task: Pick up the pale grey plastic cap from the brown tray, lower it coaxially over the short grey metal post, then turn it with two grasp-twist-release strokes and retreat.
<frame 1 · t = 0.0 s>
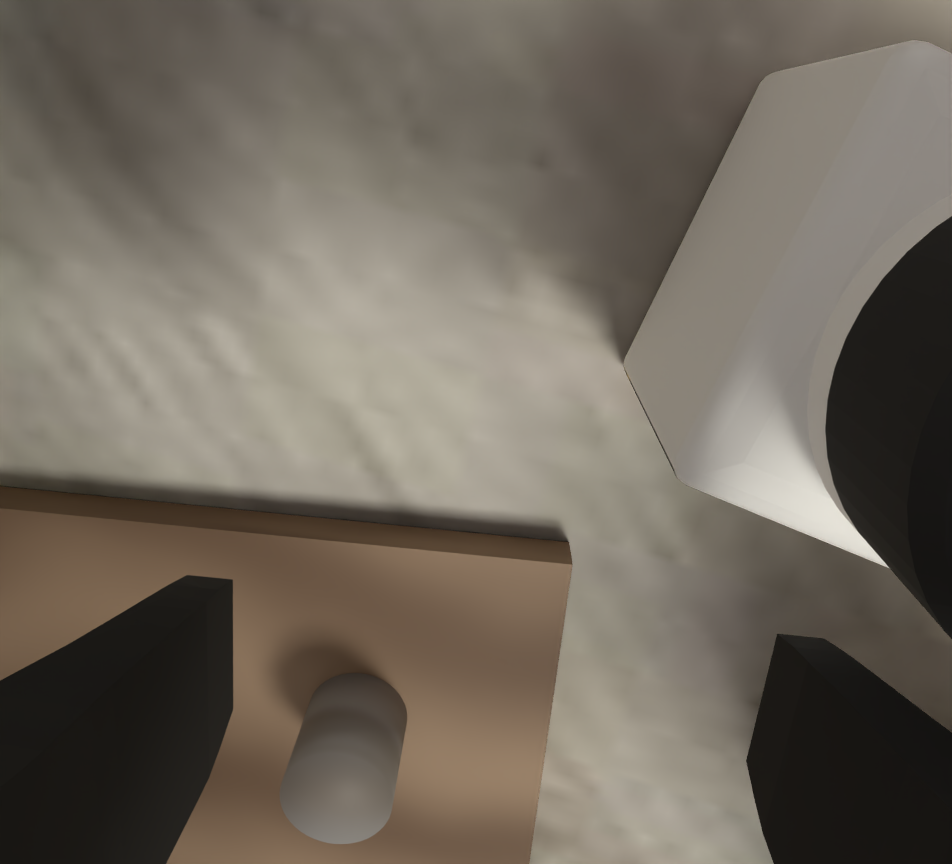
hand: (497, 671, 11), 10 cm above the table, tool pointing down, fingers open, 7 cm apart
brown tray: (221, 760, 24), on the table
medicine bottle: (822, 286, 20), on the table
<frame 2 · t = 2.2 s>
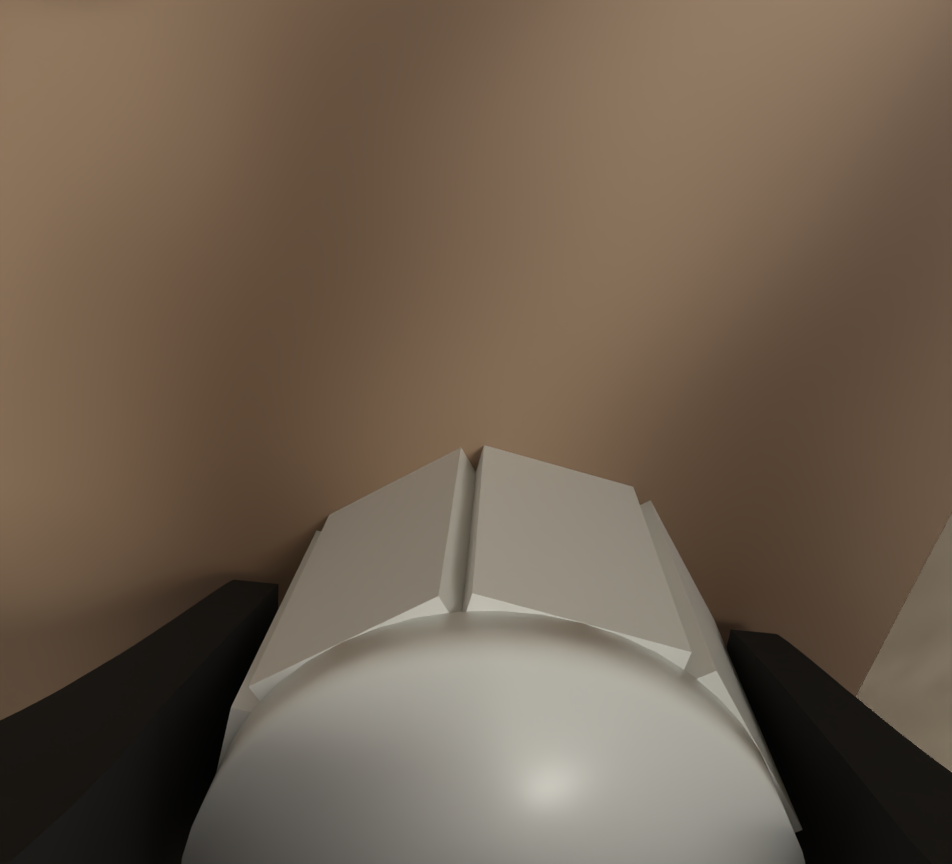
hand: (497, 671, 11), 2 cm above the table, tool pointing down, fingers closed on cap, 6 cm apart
brown tray: (386, 220, 11), on the table
cap: (497, 645, 12), point 1 cm above the table, touching brown tray, gripper
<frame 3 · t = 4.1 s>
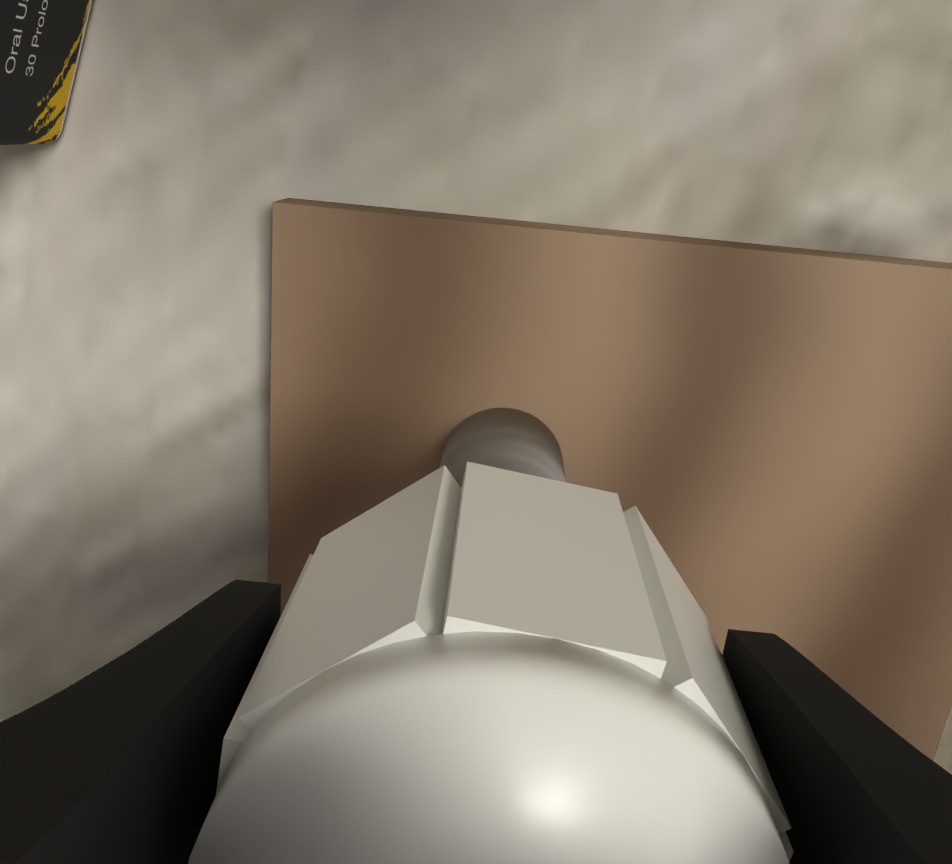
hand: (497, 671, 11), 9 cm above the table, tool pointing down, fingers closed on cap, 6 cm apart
brown tray: (608, 611, 21), on the table
cap: (495, 656, 12), point 8 cm above the table, touching gripper
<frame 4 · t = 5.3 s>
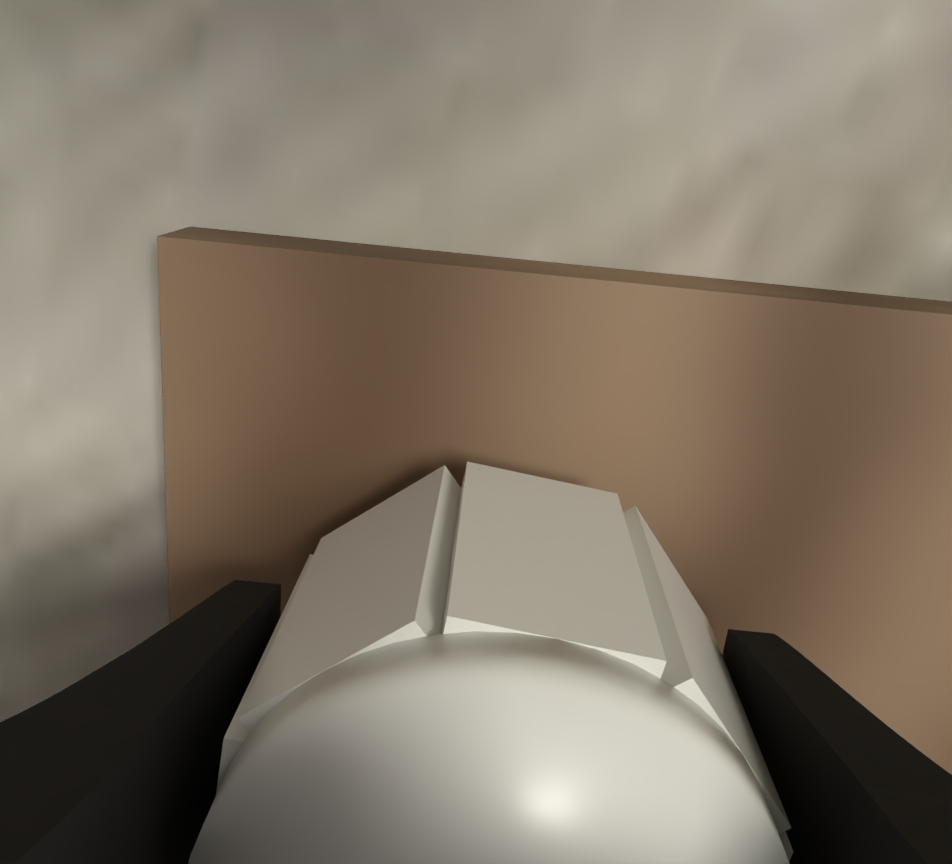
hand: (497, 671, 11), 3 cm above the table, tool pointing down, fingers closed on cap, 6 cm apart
brown tray: (644, 783, 15), on the table
cap: (495, 656, 12), point 2 cm above the table, touching gripper
when the fingers open (3 cm above the table, at t = 6.0 s): cap stays where it is, resting on brown tray.
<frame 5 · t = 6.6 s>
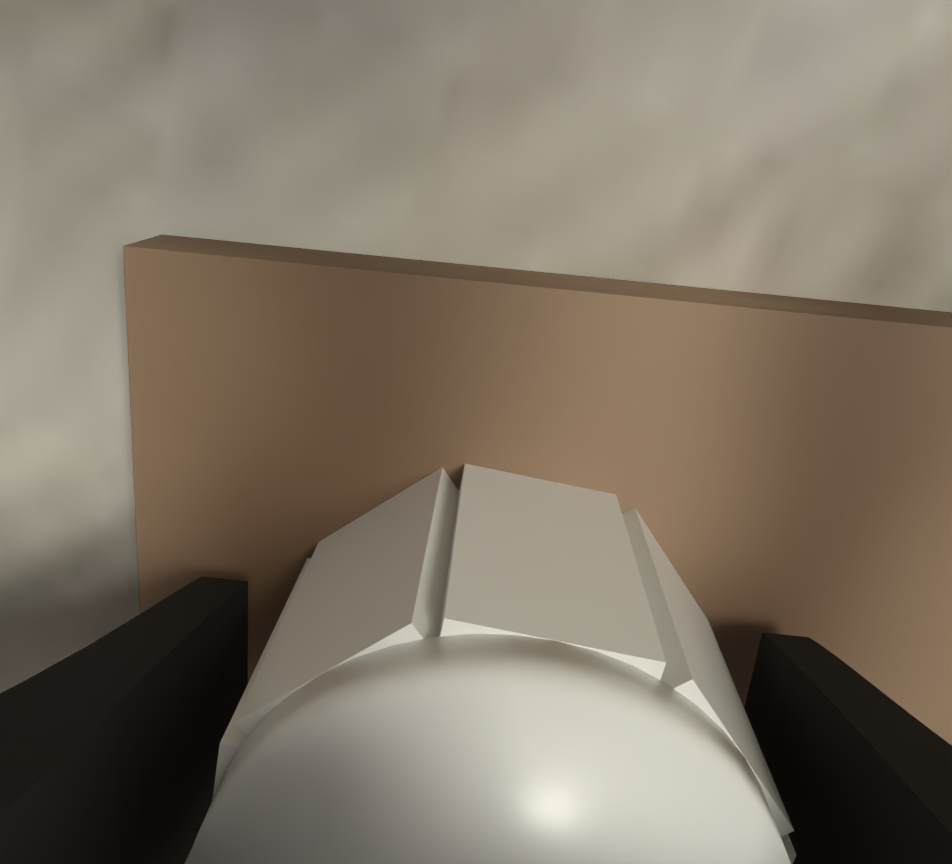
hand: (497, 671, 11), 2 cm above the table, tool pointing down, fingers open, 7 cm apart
brown tray: (652, 826, 14), on the table
cap: (495, 660, 12), point 1 cm above the table, touching brown tray
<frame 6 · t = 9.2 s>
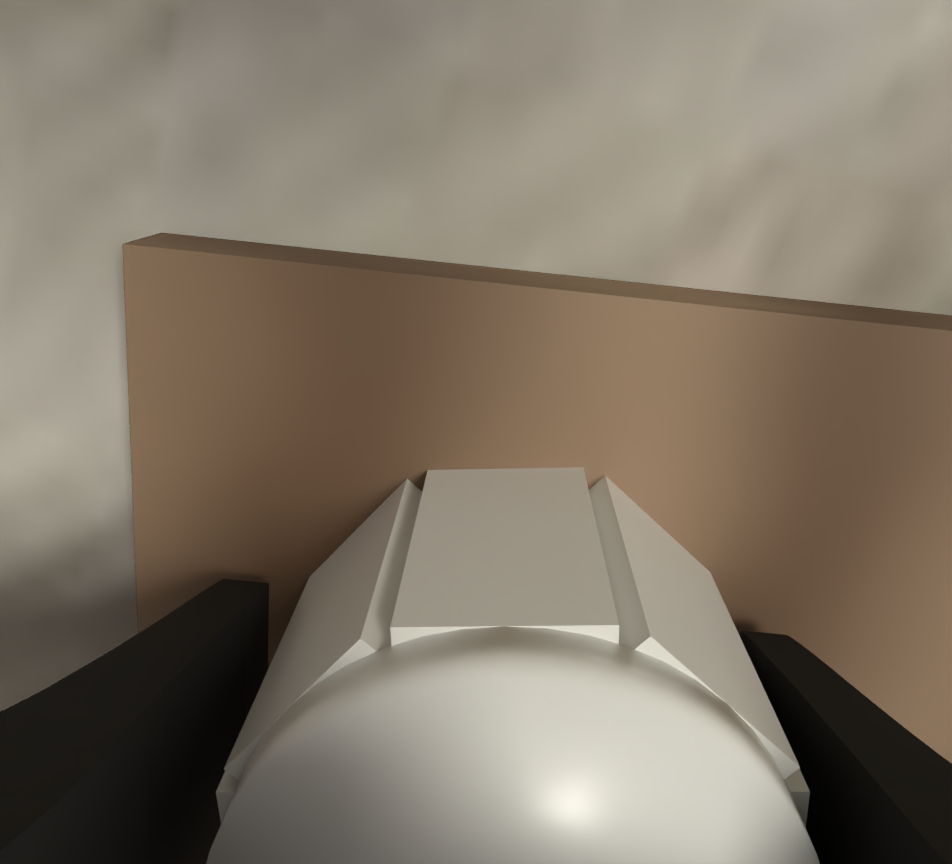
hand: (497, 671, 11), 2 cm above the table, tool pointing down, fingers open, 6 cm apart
brown tray: (649, 828, 14), on the table
cap: (509, 655, 12), point 1 cm above the table, touching brown tray, gripper
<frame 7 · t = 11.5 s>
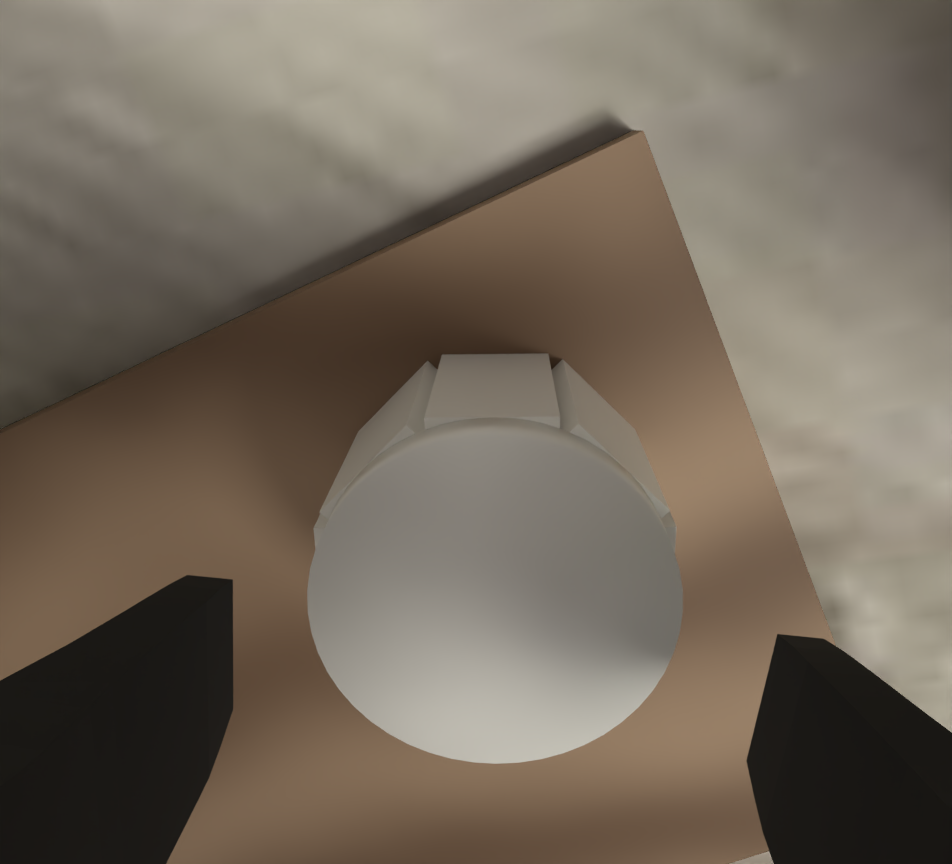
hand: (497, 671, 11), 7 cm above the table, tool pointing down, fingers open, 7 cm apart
brown tray: (392, 638, 20), on the table
cap: (496, 490, 17), point 1 cm above the table, touching brown tray
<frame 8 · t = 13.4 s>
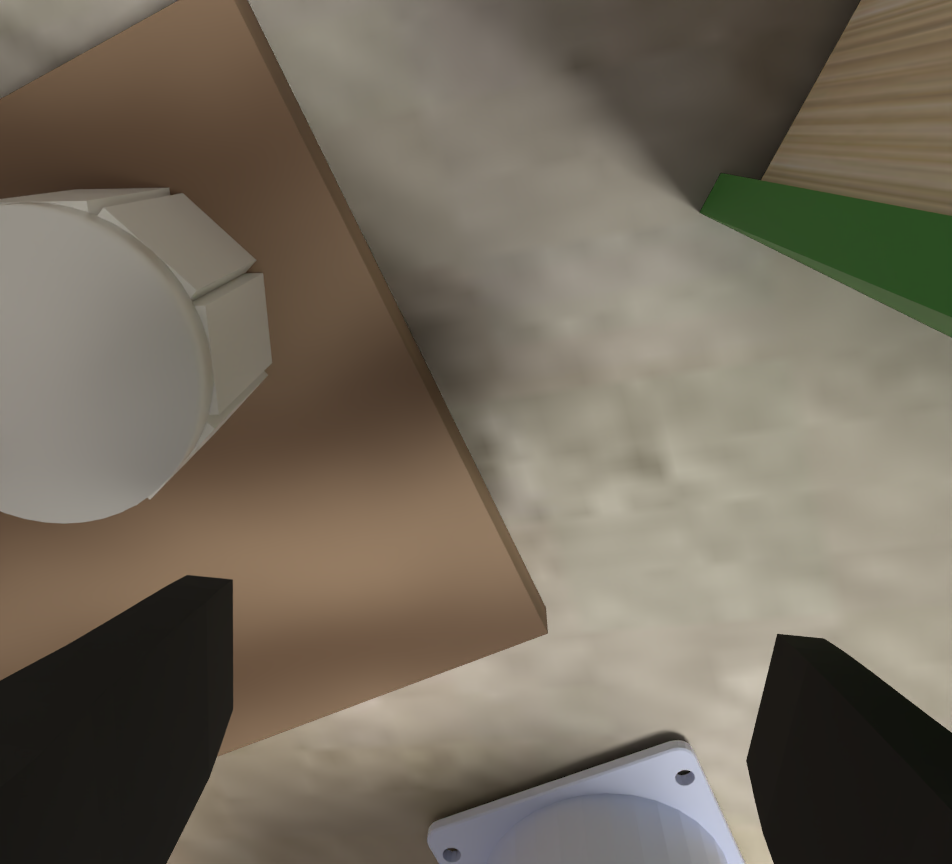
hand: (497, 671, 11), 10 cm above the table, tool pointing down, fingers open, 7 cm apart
brown tray: (90, 477, 21), on the table
cap: (142, 320, 19), point 1 cm above the table, touching brown tray
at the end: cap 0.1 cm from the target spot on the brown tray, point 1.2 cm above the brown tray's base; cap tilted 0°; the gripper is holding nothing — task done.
